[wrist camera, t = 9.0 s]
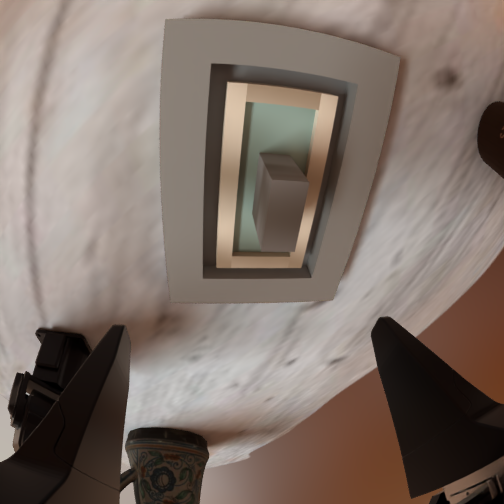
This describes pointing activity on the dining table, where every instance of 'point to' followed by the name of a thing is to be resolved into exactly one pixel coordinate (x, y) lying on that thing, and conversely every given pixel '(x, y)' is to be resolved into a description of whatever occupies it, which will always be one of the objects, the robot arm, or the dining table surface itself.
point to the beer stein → (165, 465)
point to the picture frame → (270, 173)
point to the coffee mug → (492, 137)
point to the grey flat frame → (210, 143)
